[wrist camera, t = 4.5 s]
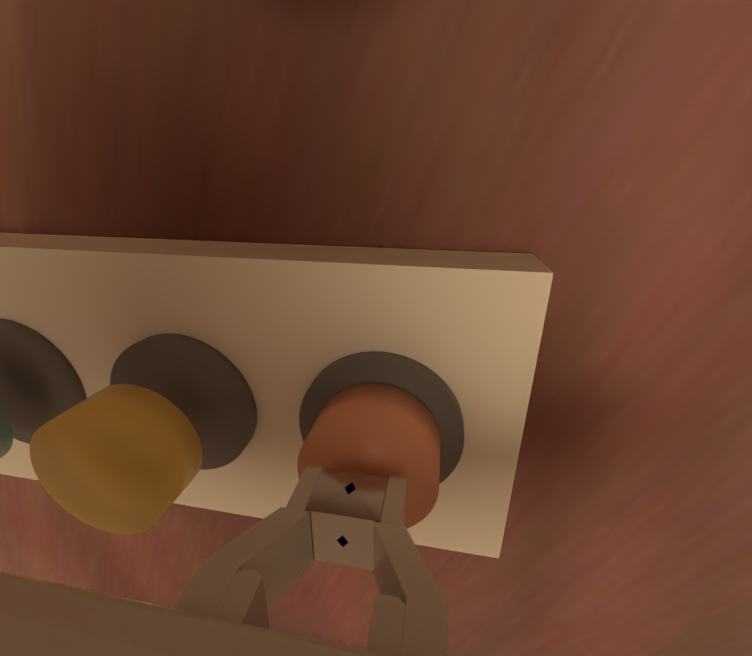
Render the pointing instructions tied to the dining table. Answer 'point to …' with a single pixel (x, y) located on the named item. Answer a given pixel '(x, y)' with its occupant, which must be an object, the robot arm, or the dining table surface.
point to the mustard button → (117, 458)
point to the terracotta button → (379, 442)
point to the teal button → (5, 433)
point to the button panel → (280, 355)
